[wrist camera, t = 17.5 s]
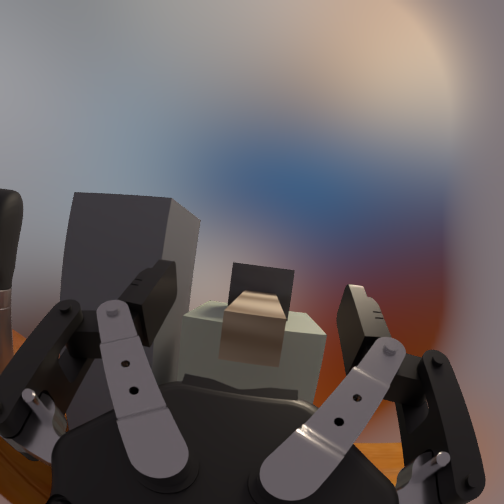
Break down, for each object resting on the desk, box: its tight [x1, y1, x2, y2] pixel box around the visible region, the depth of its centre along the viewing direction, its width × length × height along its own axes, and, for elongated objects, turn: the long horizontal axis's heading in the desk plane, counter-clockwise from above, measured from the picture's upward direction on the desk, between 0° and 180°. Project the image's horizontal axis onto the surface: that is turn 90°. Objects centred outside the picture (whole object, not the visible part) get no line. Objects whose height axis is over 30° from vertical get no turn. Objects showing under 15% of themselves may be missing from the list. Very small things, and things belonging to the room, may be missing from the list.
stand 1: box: [60, 192, 201, 430], centre depth 30 cm, size 12×12×32 cm
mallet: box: [218, 263, 294, 367], centre depth 23 cm, size 20×6×5 cm, turn 177°
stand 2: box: [177, 301, 327, 404], centre depth 27 cm, size 12×12×22 cm
